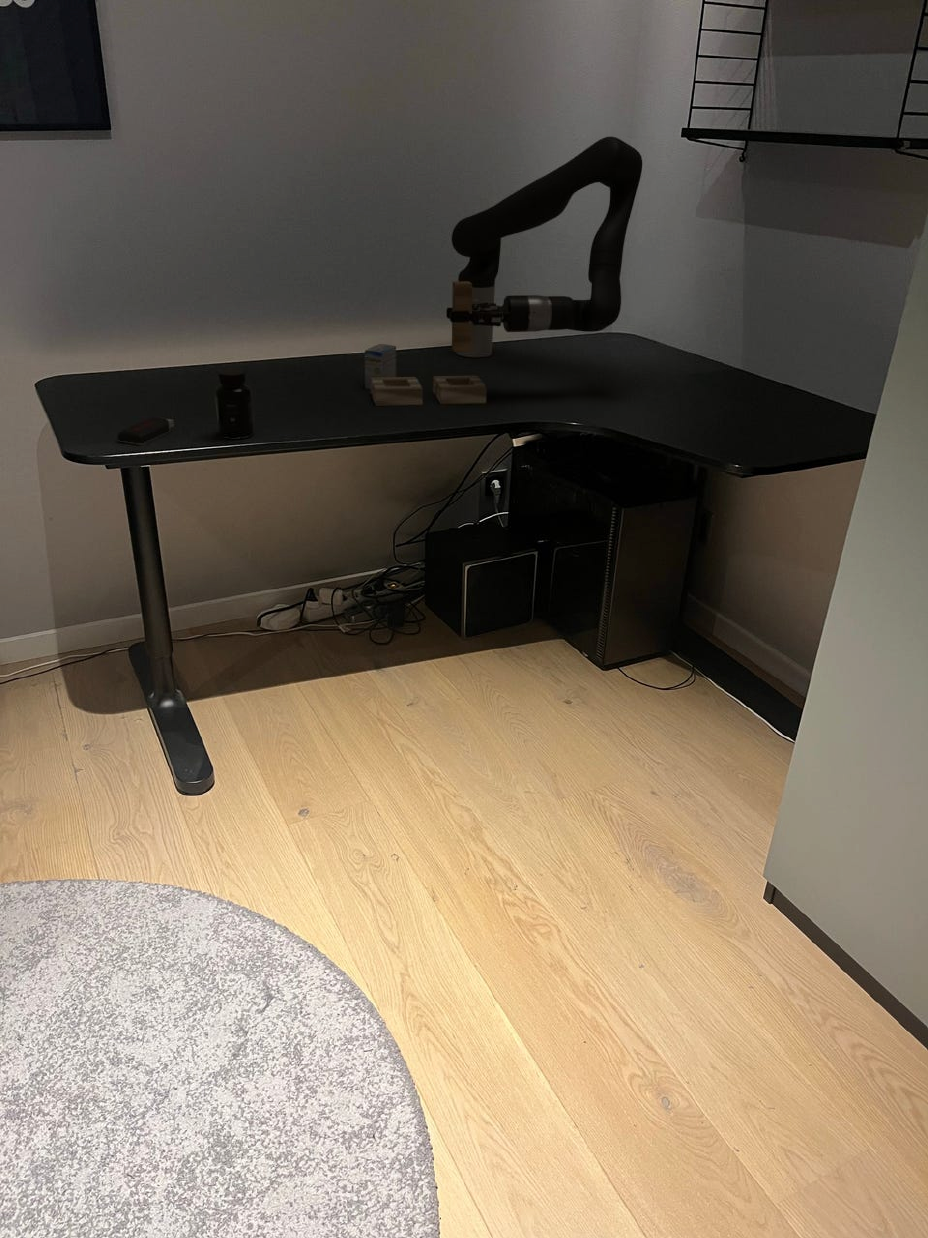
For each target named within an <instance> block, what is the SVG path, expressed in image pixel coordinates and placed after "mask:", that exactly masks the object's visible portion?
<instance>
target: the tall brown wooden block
mask: <svg viewBox="0 0 928 1238" xmlns="http://www.w3.org/2000/svg"><path fill="white" fill-rule="evenodd" d="M451 291H452V297H451V298H452V300H451V302H452V303H451V308H452V311H470V310H472V284H471V283H470V282H469V281H460V282H458V281H452V290H451ZM451 350H452V351H453V352H454V353H457V352H471V324H470V323H468V322H451Z"/></svg>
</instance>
